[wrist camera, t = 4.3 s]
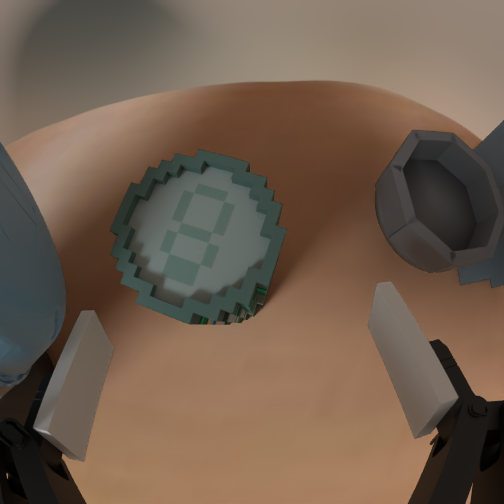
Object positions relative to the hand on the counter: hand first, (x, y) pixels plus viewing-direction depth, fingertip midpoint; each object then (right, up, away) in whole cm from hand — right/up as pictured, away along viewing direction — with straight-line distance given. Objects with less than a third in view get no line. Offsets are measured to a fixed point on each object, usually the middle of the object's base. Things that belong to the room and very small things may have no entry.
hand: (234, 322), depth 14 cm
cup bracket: (+18, +6, +12) cm, 23 cm away
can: (-1, 0, +12) cm, 12 cm away
